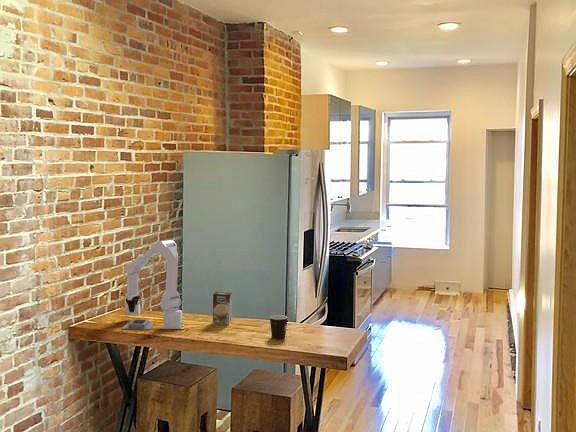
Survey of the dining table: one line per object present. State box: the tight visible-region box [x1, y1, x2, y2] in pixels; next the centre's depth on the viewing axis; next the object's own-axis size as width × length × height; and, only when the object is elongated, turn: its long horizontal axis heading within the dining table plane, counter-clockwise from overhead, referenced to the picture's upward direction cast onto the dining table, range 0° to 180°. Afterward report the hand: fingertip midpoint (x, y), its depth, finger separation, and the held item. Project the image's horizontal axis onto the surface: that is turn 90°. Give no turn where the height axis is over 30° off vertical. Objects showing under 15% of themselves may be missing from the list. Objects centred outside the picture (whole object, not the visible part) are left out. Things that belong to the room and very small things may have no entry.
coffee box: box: [211, 291, 233, 326], centre depth 341 cm, size 9×6×16 cm
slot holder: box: [121, 318, 156, 331], centre depth 332 cm, size 14×13×2 cm
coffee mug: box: [269, 314, 288, 340], centre depth 314 cm, size 12×9×10 cm
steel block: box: [124, 303, 141, 316], centre depth 343 cm, size 7×4×5 cm, turn 90°
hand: (132, 311), depth 343 cm, fingers closed on steel block, 4 cm apart
